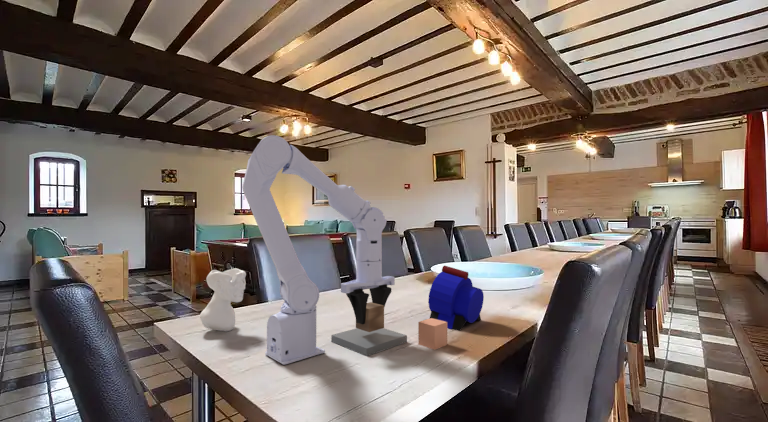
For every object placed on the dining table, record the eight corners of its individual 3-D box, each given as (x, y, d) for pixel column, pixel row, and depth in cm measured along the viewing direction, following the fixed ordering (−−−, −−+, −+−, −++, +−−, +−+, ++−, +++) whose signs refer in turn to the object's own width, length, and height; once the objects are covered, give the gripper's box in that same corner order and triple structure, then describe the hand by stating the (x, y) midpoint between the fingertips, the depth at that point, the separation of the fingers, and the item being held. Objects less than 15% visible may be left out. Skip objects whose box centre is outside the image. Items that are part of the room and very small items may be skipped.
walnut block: (369, 332, 78) (369, 308, 78) (355, 327, 82) (355, 305, 82) (384, 327, 81) (384, 305, 82) (370, 323, 85) (370, 302, 85)
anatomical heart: (220, 323, 96) (220, 266, 97) (257, 327, 93) (257, 268, 93) (191, 334, 87) (192, 271, 87) (231, 338, 84) (232, 273, 84)
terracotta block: (434, 350, 77) (434, 326, 77) (418, 344, 80) (418, 321, 80) (447, 344, 80) (447, 322, 80) (431, 340, 83) (431, 318, 83)
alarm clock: (448, 314, 105) (448, 262, 106) (488, 322, 98) (488, 266, 98) (425, 324, 96) (425, 267, 96) (468, 333, 88) (467, 271, 89)
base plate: (366, 356, 73) (366, 348, 73) (331, 341, 82) (331, 335, 82) (406, 342, 81) (406, 335, 81) (371, 330, 90) (371, 324, 90)
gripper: (355, 264, 74) (355, 331, 74) (403, 259, 84) (404, 318, 84) (334, 261, 79) (334, 324, 79) (382, 257, 89) (383, 312, 89)
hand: (369, 320), depth 82 cm, fingers closed on walnut block, 4 cm apart
